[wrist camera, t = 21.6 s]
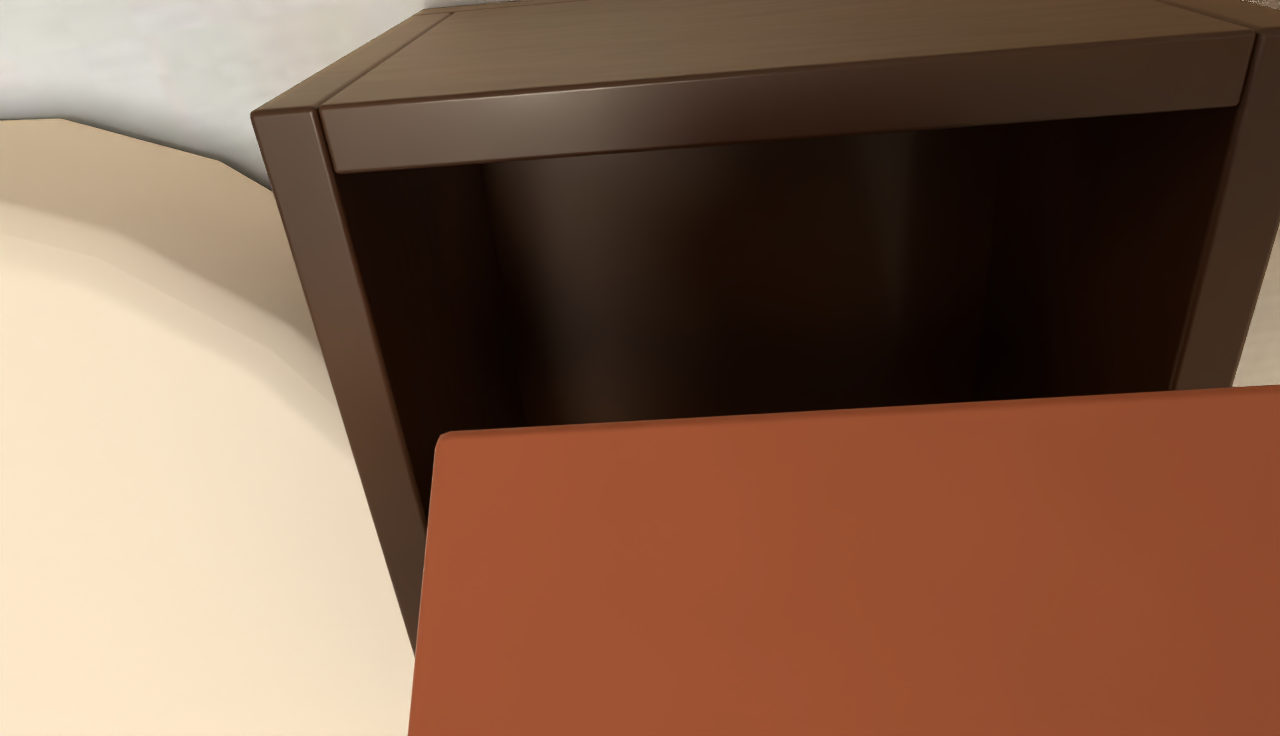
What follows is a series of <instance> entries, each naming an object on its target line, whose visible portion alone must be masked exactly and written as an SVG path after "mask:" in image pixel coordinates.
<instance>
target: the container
mask: <svg viewBox="0 0 1280 736" xmlns="http://www.w3.org/2000/svg"><path fill="white" fill-rule="evenodd" d="M414 663H415V657H414V653H413V650H412V647H411V644H410V640H409V637H408V634H407V631H406V627H405V624H404V621H403V617H402V614H401V611H400V608H399V604H398V601H397V598H396V594H395V591H394V588H393V585H392V581H391V578H390V575H389V571H388V568H387V565H386V562H385V558H384V555H383V552H382V548H381V545H380V542H379V539H378V535H377V532H376V529H375V525H374V522H373V519H372V516H371V512H370V509H369V506H368V503H367V499H366V496H365V493H364V489H363V486H362V483H361V480H360V476H359V473H358V470H357V466H356V463H355V460H354V457H353V453H352V450H351V447H350V443H349V440H348V437H347V434H346V430H345V427H344V424H343V420H342V417H341V414H340V411H339V407H338V404H337V401H336V397H335V394H334V391H333V388H332V384H331V381H330V378H329V374H328V371H327V368H326V365H325V361H324V358H323V355H322V352H321V348H320V345H319V342H318V338H317V335H316V332H315V329H314V325H313V322H312V319H311V315H310V312H309V309H308V306H307V302H306V299H305V296H304V292H303V289H302V286H301V283H300V279H299V276H298V273H297V269H296V266H295V263H294V260H293V256H292V253H291V250H290V246H289V243H288V240H287V237H286V233H285V230H284V227H283V224H282V220H281V217H280V214H279V210H278V207H277V204H276V201H275V197H274V194H273V192H272V191H270V190H268V189H267V188H265V187H263V186H262V185H260V184H258V183H256V182H255V181H253V180H251V179H249V178H248V177H246V176H244V175H243V174H241V173H239V172H237V171H236V170H234V169H232V168H230V167H229V166H227V165H225V164H223V163H222V162H220V161H217V160H213V159H210V158H206V157H202V156H199V155H195V154H191V153H187V152H184V151H180V150H176V149H172V148H169V147H165V146H161V145H158V144H154V143H150V142H146V141H143V140H139V139H135V138H132V137H128V136H124V135H120V134H117V133H113V132H109V131H106V130H102V129H98V128H94V127H91V126H87V125H83V124H80V123H76V122H72V121H68V120H65V119H33V120H5V121H0V736H408V725H409V715H410V704H411V694H412V683H413V673H414Z"/></svg>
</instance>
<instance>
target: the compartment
mask: <svg viewBox="0 0 1280 736" xmlns="http://www.w3.org/2000/svg"><path fill="white" fill-rule="evenodd" d="M250 118H251V122H252V125H253V128H254V132H255V135H256V138H257V141H258V145H259V148H260V151H261V155H262V158H263V161H264V164H265V168H266V171H267V174H268V178H269V181H270V184H271V187H272V191H273V194H274V197H275V201H276V204H277V207H278V210H279V214H280V217H281V220H282V224H283V227H284V230H285V233H286V237H287V240H288V243H289V246H290V250H291V253H292V256H293V260H294V263H295V266H296V269H297V273H298V276H299V279H300V283H301V286H302V289H303V292H304V296H305V299H306V302H307V306H308V309H309V312H310V315H311V319H312V322H313V325H314V329H315V332H316V335H317V338H318V342H319V345H320V348H321V352H322V355H323V358H324V361H325V365H326V368H327V371H328V374H329V378H330V381H331V384H332V388H333V391H334V394H335V397H336V401H337V404H338V407H339V411H340V414H341V417H342V420H343V424H344V427H345V430H346V434H347V437H348V440H349V443H350V447H351V450H352V453H353V457H354V460H355V463H356V466H357V470H358V473H359V476H360V480H361V483H362V486H363V489H364V493H365V496H366V499H367V503H368V506H369V509H370V512H371V516H372V519H373V522H374V525H375V529H376V532H377V535H378V539H379V542H380V545H381V548H382V552H383V555H384V558H385V562H386V565H387V568H388V571H389V575H390V578H391V581H392V585H393V588H394V591H395V594H396V598H397V601H398V604H399V608H400V611H401V614H402V617H403V621H404V624H405V627H406V631H407V634H408V637H409V640H410V644H411V647H412V650H413V653H414V657H415V652H416V642H417V631H418V621H419V610H420V600H421V590H422V579H423V569H424V558H425V548H426V537H427V527H428V517H429V506H430V496H431V485H432V475H433V464H434V454H435V447H436V444H437V441H438V439H439V437H440V435H442V434H444V433H447V432H450V431H465V430H482V429H500V428H518V427H536V426H554V425H571V424H589V423H607V422H625V421H643V420H660V419H678V418H696V417H714V416H732V415H749V414H767V413H785V412H803V411H821V410H838V409H856V408H874V407H892V406H910V405H927V404H945V403H963V402H981V401H999V400H1016V399H1034V398H1052V397H1070V396H1087V395H1105V394H1123V393H1141V392H1159V391H1176V390H1194V389H1212V388H1230V387H1232V385H1233V381H1234V378H1235V374H1236V371H1237V367H1238V364H1239V361H1240V357H1241V354H1242V350H1243V347H1244V343H1245V340H1246V337H1247V333H1248V330H1249V326H1250V323H1251V319H1252V316H1253V313H1254V309H1255V306H1256V302H1257V299H1258V295H1259V292H1260V289H1261V285H1262V282H1263V278H1264V275H1265V271H1266V268H1267V265H1268V261H1269V258H1270V254H1271V251H1272V247H1273V244H1274V241H1275V237H1276V234H1277V230H1278V227H1279V223H1280V10H1278V9H1274V8H1270V7H1266V6H1262V5H1257V4H1253V3H1249V2H1245V1H1241V0H522V1H511V2H499V3H488V4H477V5H466V6H454V7H443V8H432V9H423V10H421V11H420V12H418V13H416V14H415V15H413V16H412V17H410V18H408V19H407V20H405V21H403V22H402V23H400V24H398V25H397V26H395V27H393V28H391V29H390V30H388V31H386V32H385V33H383V34H381V35H380V36H378V37H376V38H375V39H373V40H371V41H370V42H368V43H366V44H365V45H363V46H361V47H360V48H358V49H356V50H354V51H353V52H351V53H349V54H348V55H346V56H344V57H343V58H341V59H339V60H338V61H336V62H334V63H333V64H331V65H329V66H328V67H326V68H324V69H323V70H321V71H319V72H317V73H316V74H314V75H312V76H311V77H309V78H307V79H306V80H304V81H302V82H301V83H299V84H297V85H296V86H294V87H292V88H291V89H289V90H287V91H286V92H284V93H282V94H280V95H279V96H277V97H275V98H274V99H272V100H270V101H269V102H267V103H265V104H264V105H262V106H260V107H259V108H257V109H255V110H254V111H252V112H251V114H250Z"/></svg>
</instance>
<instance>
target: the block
mask: <svg viewBox="0 0 1280 736" xmlns="http://www.w3.org/2000/svg"><path fill="white" fill-rule="evenodd" d="M408 736H1280V385H1265V386H1248V387H1230V388H1212V389H1194V390H1176V391H1159V392H1141V393H1123V394H1105V395H1087V396H1070V397H1052V398H1034V399H1016V400H999V401H981V402H963V403H945V404H927V405H910V406H892V407H874V408H856V409H838V410H821V411H803V412H785V413H767V414H749V415H732V416H714V417H696V418H678V419H660V420H643V421H625V422H607V423H589V424H571V425H554V426H536V427H518V428H500V429H482V430H465V431H450V432H447V433H444V434H442V435H440V437H439V439H438V441H437V444H436V447H435V454H434V464H433V475H432V485H431V496H430V506H429V517H428V527H427V537H426V548H425V558H424V569H423V579H422V590H421V600H420V610H419V621H418V631H417V642H416V652H415V663H414V673H413V683H412V694H411V704H410V715H409V725H408Z"/></svg>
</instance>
